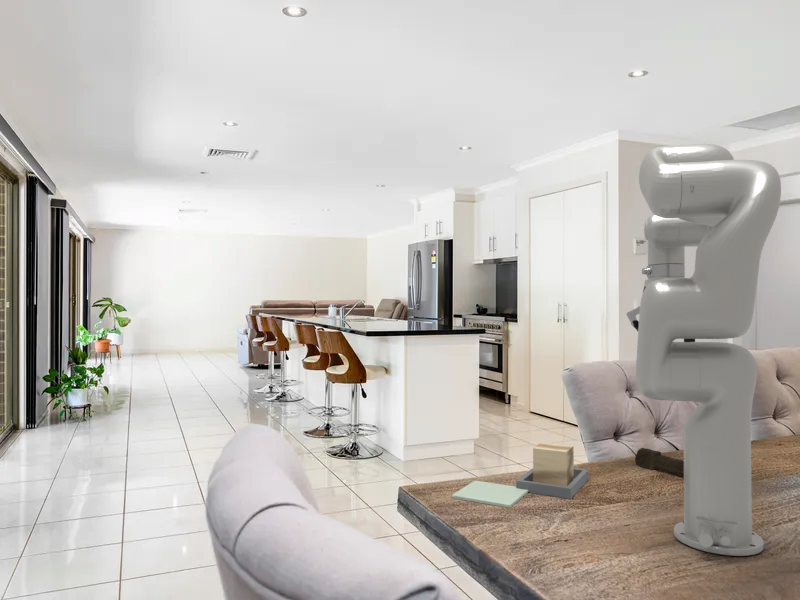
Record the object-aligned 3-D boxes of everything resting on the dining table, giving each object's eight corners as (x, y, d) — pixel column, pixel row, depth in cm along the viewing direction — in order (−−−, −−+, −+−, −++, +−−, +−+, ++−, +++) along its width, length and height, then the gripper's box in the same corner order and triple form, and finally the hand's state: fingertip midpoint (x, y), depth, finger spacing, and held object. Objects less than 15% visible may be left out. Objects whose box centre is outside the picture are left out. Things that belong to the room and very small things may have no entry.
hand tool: (719, 483, 127) (719, 461, 127) (709, 486, 125) (708, 463, 125) (642, 464, 143) (642, 445, 143) (632, 466, 141) (632, 447, 141)
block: (566, 491, 121) (566, 451, 121) (533, 486, 124) (533, 448, 124) (573, 483, 126) (573, 446, 126) (541, 479, 129) (541, 442, 130)
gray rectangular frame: (570, 499, 115) (570, 488, 115) (516, 490, 121) (516, 480, 121) (588, 479, 129) (588, 469, 129) (538, 472, 135) (538, 463, 135)
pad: (510, 507, 110) (510, 505, 110) (451, 497, 116) (451, 495, 116) (529, 491, 120) (529, 488, 120) (474, 482, 126) (475, 480, 126)
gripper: (633, 272, 128) (634, 351, 128) (713, 272, 128) (714, 351, 127) (621, 274, 136) (621, 349, 135) (697, 274, 135) (697, 349, 135)
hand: (666, 350), depth 131 cm, fingers open, 9 cm apart
